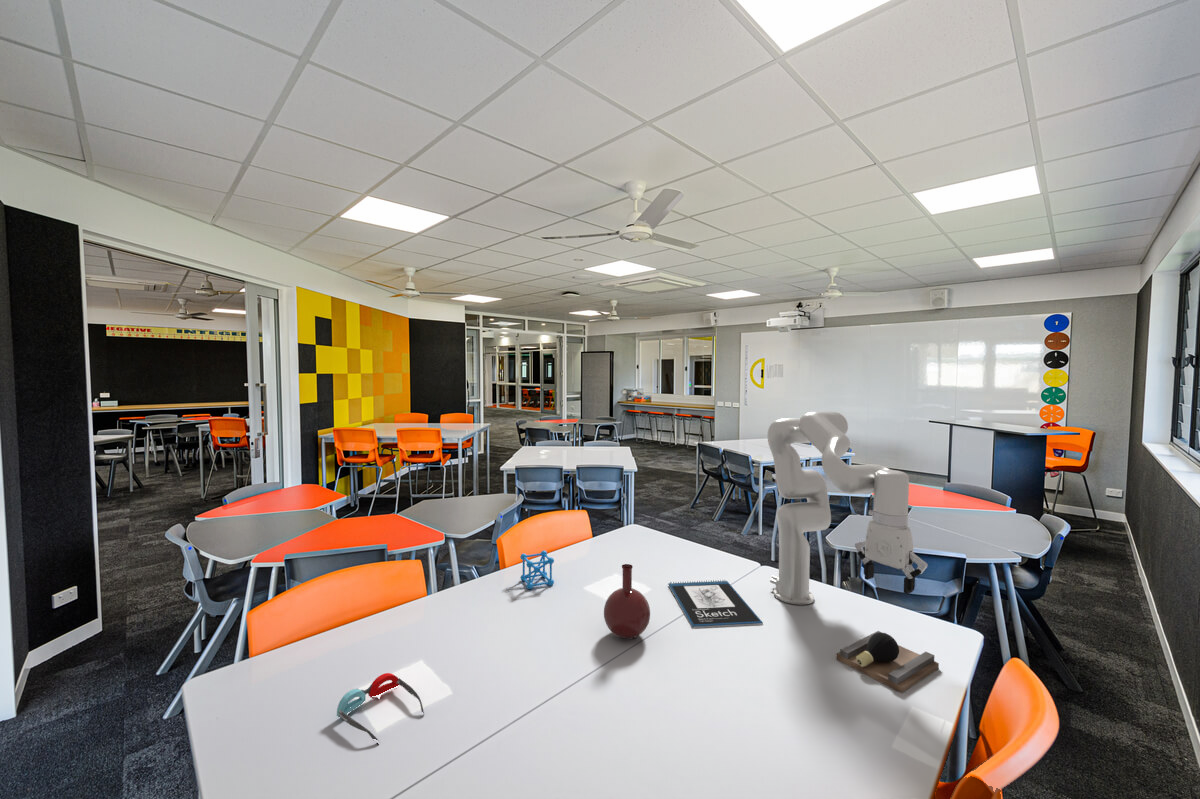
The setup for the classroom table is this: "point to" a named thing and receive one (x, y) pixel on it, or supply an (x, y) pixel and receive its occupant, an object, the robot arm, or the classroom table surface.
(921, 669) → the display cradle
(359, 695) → the novelty glasses
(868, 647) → the light bulb
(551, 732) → the classroom table surface
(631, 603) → the round-bottom flask
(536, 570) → the molecular structure
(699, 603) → the sketchbook
